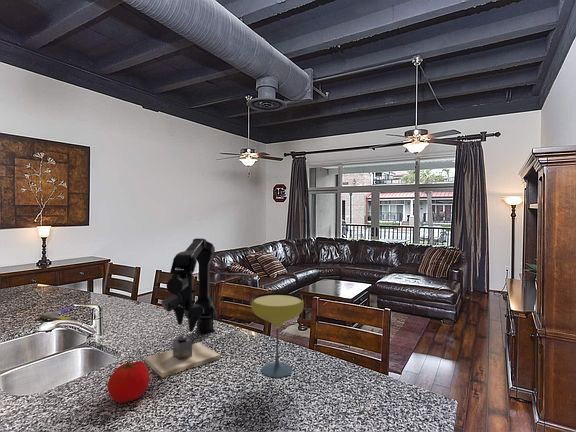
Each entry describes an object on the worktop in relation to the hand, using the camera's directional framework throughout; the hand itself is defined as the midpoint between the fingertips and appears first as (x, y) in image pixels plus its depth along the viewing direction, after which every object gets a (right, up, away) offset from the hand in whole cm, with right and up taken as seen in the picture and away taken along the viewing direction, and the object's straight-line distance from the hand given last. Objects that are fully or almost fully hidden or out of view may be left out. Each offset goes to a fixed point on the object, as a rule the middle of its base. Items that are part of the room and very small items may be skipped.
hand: (185, 327), depth 132 cm
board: (0, -11, -3) cm, 11 cm away
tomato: (-8, -12, -28) cm, 32 cm away
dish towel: (-73, -10, +49) cm, 89 cm away
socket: (0, -9, -3) cm, 10 cm away
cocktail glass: (+35, -12, -11) cm, 38 cm away
